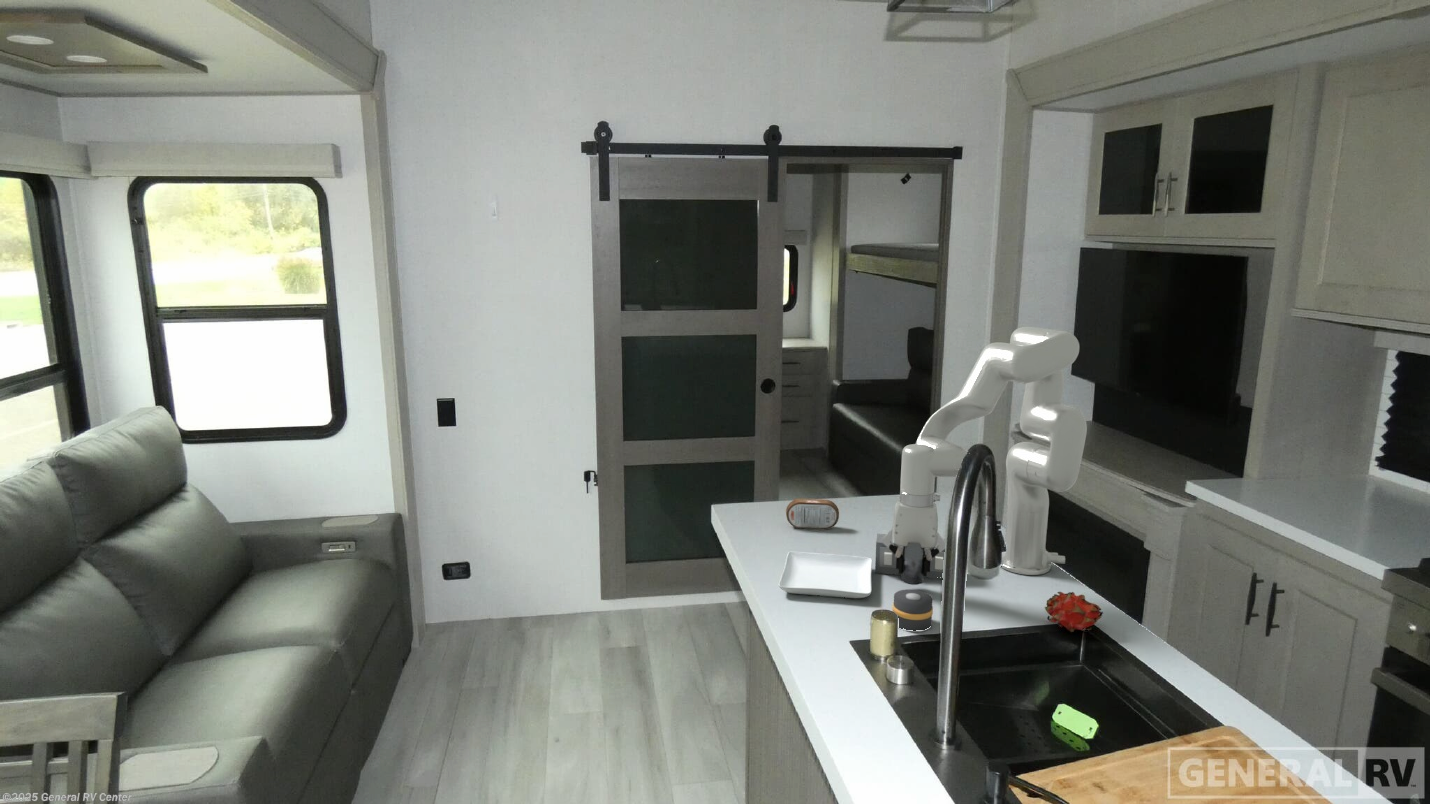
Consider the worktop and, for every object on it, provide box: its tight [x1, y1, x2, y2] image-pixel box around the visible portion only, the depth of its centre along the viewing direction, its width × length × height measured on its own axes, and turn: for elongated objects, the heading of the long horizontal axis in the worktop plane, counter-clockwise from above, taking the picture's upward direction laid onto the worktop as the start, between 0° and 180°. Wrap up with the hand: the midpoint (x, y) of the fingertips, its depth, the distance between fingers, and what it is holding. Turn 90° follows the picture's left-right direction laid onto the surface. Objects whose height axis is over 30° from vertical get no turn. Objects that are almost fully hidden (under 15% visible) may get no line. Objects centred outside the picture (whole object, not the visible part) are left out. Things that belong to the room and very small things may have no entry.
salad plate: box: [778, 551, 873, 599], centre depth 193 cm, size 21×21×3 cm
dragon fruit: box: [1044, 591, 1104, 633], centre depth 169 cm, size 8×8×12 cm
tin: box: [785, 498, 840, 530], centre depth 228 cm, size 15×3×8 cm, turn 84°
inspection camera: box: [900, 542, 925, 586], centre depth 187 cm, size 5×5×10 cm
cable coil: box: [892, 588, 934, 631], centre depth 171 cm, size 8×8×6 cm
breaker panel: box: [874, 533, 946, 580], centre depth 197 cm, size 18×8×8 cm, turn 76°
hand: (912, 572), depth 187 cm, fingers closed on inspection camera, 5 cm apart
